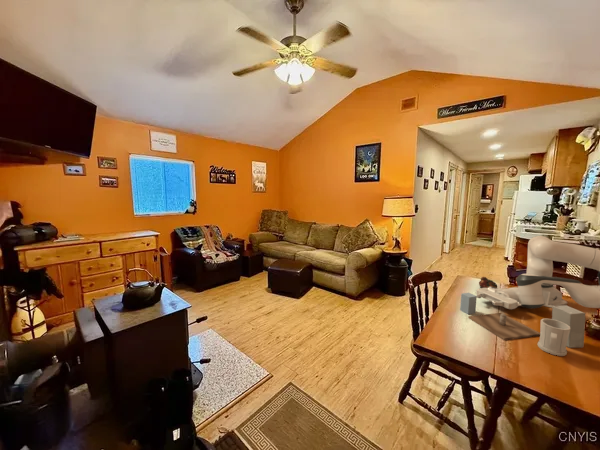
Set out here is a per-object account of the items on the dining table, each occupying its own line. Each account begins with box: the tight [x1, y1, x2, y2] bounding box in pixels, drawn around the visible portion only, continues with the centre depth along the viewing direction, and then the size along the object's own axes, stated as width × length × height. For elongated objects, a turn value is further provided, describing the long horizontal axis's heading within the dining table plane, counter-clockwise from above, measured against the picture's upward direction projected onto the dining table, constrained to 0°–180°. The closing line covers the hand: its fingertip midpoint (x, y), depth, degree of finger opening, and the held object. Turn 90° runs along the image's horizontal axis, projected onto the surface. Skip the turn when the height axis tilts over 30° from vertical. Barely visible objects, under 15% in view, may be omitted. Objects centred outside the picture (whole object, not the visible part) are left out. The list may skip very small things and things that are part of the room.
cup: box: [537, 318, 571, 357], centre depth 105 cm, size 10×9×12 cm
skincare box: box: [551, 304, 586, 349], centre depth 110 cm, size 8×7×16 cm
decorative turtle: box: [478, 276, 498, 289], centre depth 166 cm, size 10×15×8 cm, turn 174°
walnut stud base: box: [467, 312, 540, 341], centre depth 124 cm, size 20×20×7 cm
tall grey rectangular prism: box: [459, 292, 478, 315], centre depth 139 cm, size 5×5×10 cm
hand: (485, 299), depth 141 cm, fingers open, 8 cm apart
